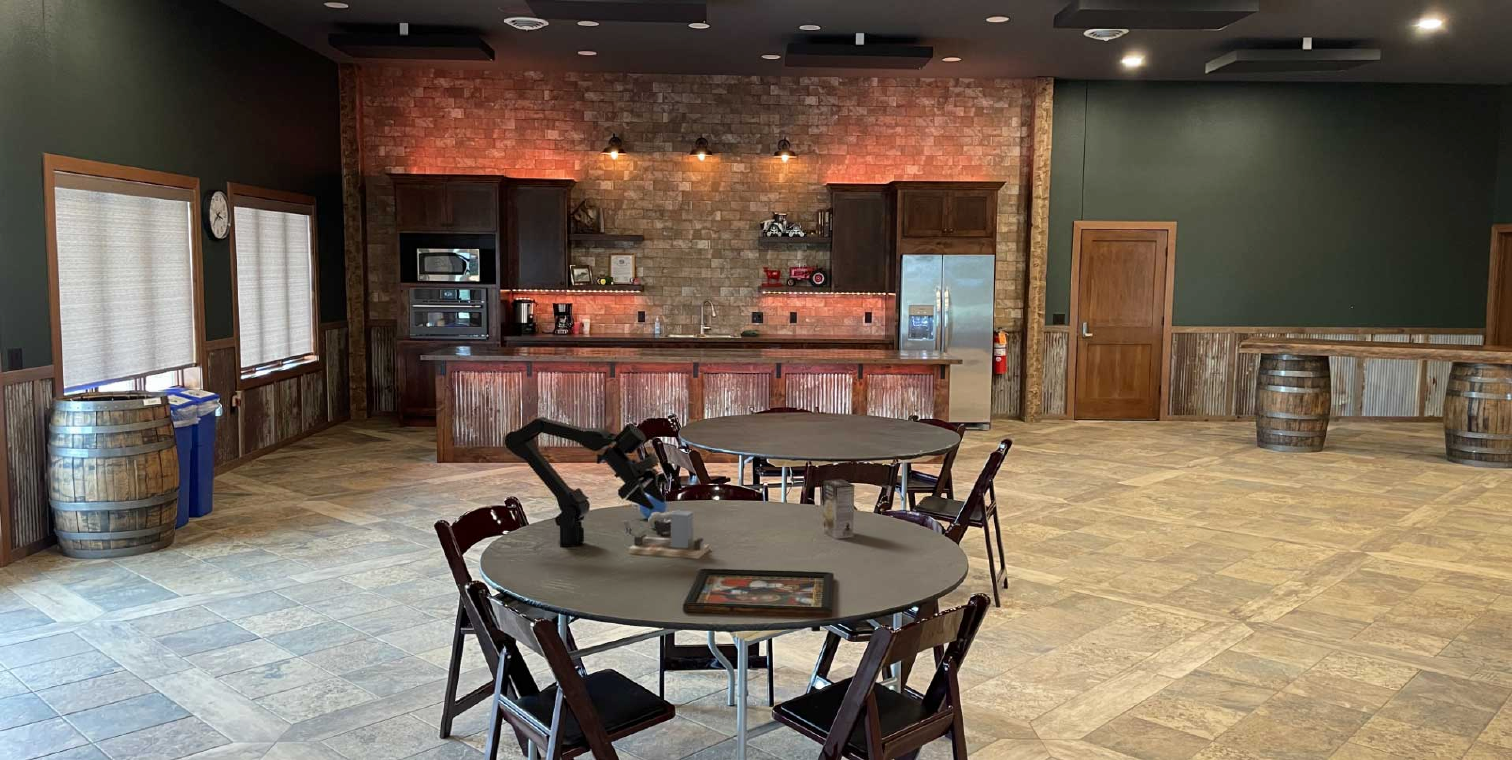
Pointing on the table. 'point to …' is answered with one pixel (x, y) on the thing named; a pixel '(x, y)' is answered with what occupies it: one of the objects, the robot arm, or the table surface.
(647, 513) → the blue mole toy
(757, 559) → the table surface
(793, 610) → the framed painting
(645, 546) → the rail
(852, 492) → the coffee box
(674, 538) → the pale blue rectangular block
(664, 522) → the clip-on lamp
